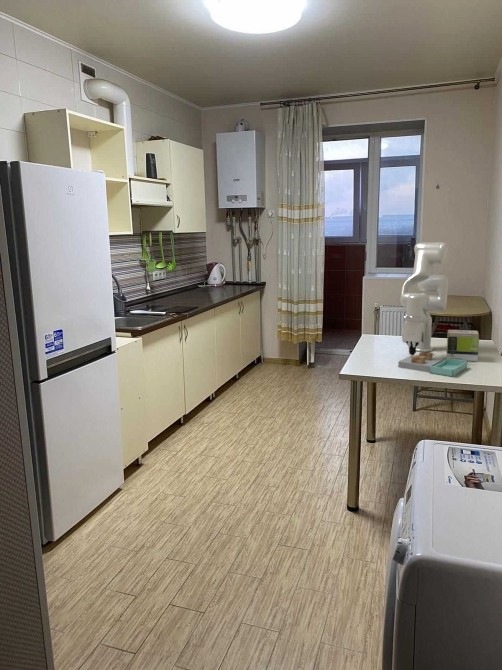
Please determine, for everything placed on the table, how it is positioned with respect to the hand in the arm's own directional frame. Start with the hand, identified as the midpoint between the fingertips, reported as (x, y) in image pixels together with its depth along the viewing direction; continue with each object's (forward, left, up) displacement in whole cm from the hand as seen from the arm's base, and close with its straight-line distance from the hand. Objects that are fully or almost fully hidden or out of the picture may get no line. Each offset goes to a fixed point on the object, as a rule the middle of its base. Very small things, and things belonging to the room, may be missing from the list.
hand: (412, 354), depth 265 cm
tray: (+20, -4, -4) cm, 21 cm away
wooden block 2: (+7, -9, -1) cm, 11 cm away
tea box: (+17, +23, -5) cm, 29 cm away
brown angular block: (+7, 0, -1) cm, 7 cm away
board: (+6, -4, -4) cm, 9 cm away
